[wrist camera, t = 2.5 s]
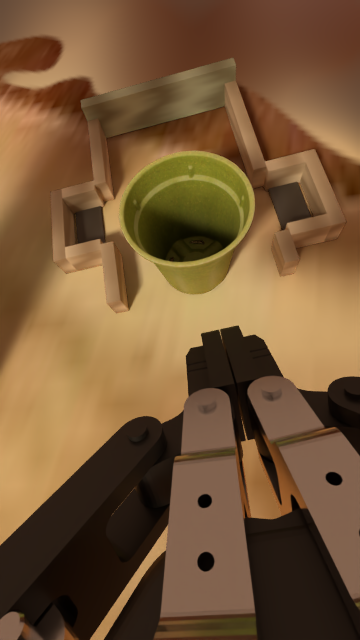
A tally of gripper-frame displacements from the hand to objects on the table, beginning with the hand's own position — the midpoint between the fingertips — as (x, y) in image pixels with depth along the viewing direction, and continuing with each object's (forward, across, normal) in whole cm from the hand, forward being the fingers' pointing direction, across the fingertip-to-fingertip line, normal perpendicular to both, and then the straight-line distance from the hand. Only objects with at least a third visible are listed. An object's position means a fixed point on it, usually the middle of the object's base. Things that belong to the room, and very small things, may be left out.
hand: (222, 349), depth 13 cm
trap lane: (+24, 0, -4) cm, 24 cm away
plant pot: (+18, 0, +2) cm, 18 cm away
